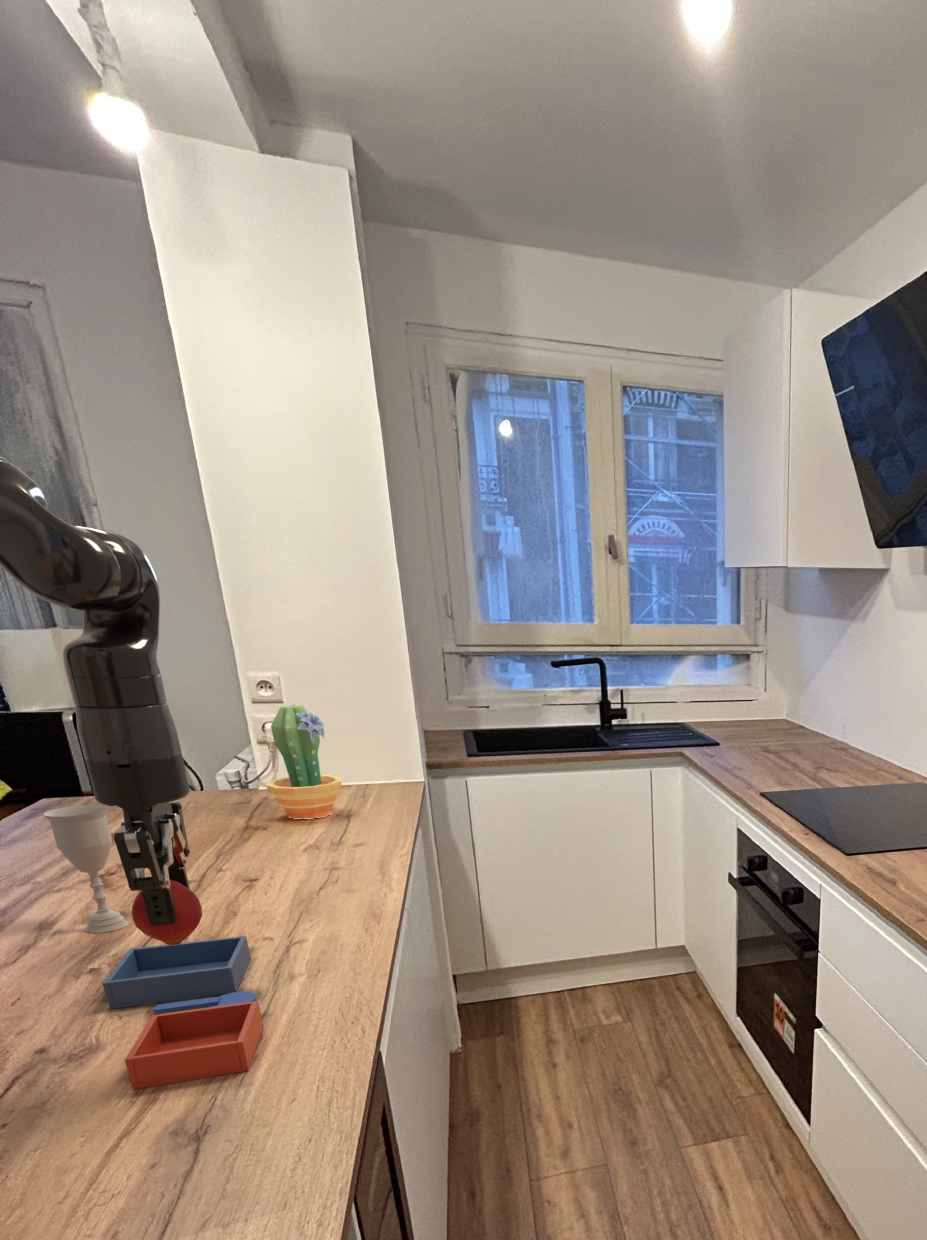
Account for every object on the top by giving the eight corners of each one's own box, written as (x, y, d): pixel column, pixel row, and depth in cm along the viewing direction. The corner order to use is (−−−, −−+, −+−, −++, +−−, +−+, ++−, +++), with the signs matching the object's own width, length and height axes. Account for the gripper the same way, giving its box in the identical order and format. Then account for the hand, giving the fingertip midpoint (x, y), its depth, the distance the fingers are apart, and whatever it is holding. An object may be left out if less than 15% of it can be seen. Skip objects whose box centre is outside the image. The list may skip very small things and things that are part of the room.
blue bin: (109, 1009, 99) (102, 983, 97) (136, 972, 108) (129, 948, 107) (236, 992, 104) (230, 967, 102) (251, 958, 113) (246, 935, 112)
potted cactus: (281, 827, 177) (259, 711, 169) (264, 813, 188) (243, 703, 179) (356, 817, 187) (340, 706, 179) (336, 804, 198) (320, 700, 189)
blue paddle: (152, 1030, 94) (149, 1016, 94) (163, 1012, 98) (160, 998, 98) (254, 1015, 98) (251, 1002, 97) (260, 998, 102) (258, 985, 102)
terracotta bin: (132, 1089, 83) (124, 1060, 82) (159, 1042, 92) (152, 1014, 90) (248, 1070, 87) (242, 1042, 86) (263, 1027, 96) (258, 1000, 94)
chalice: (136, 915, 127) (107, 803, 121) (139, 928, 122) (109, 812, 116) (75, 925, 123) (42, 809, 117) (76, 939, 118) (42, 819, 112)
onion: (147, 939, 86) (128, 867, 84) (211, 930, 89) (195, 861, 86) (136, 959, 82) (116, 884, 79) (204, 950, 84) (188, 877, 82)
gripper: (109, 741, 83) (147, 895, 89) (57, 766, 71) (105, 943, 77) (195, 738, 86) (227, 887, 92) (161, 762, 74) (200, 933, 79)
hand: (172, 912), depth 84 cm, fingers closed on onion, 6 cm apart
